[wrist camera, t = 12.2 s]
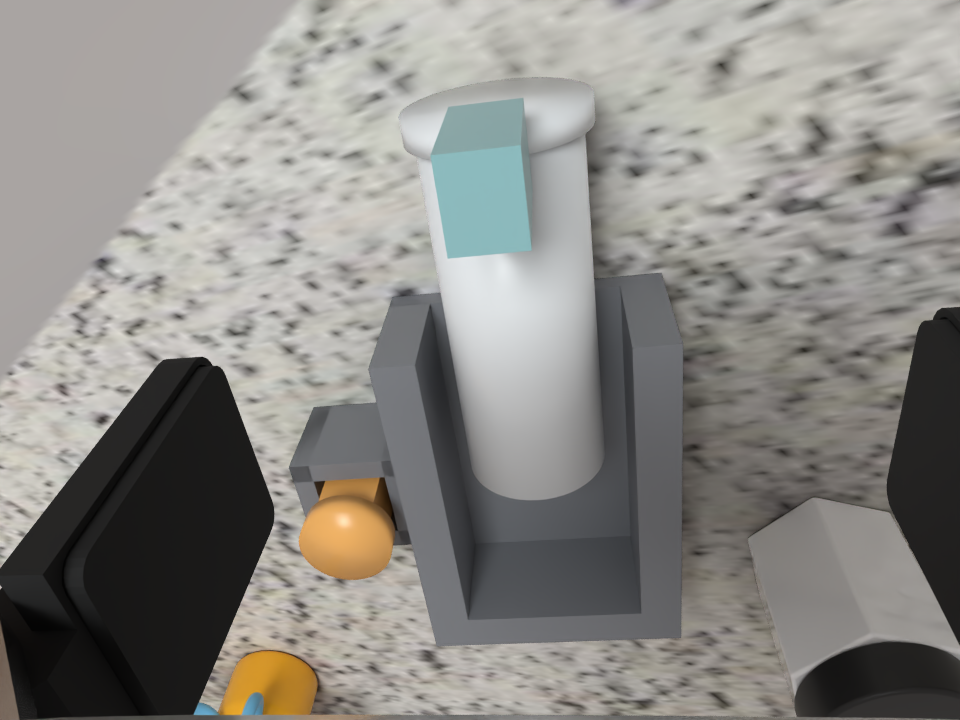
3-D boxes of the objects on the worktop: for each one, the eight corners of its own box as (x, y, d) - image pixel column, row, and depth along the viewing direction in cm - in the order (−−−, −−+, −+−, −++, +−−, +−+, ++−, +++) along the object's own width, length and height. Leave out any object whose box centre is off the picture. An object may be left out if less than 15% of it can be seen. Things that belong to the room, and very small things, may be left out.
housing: (661, 272, 37) (683, 344, 31) (664, 546, 46) (681, 637, 41) (283, 307, 39) (241, 379, 33) (359, 561, 48) (337, 649, 43)
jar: (721, 583, 47) (771, 777, 37) (774, 485, 43) (848, 674, 33) (860, 610, 48) (947, 808, 38) (927, 515, 44) (1045, 711, 33)
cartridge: (586, 42, 31) (613, 134, 20) (607, 405, 40) (632, 600, 29) (408, 65, 31) (342, 165, 21) (468, 415, 41) (444, 608, 30)
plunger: (402, 421, 41) (381, 510, 35) (417, 485, 43) (399, 577, 38) (322, 427, 41) (288, 515, 36) (340, 489, 44) (311, 581, 38)
